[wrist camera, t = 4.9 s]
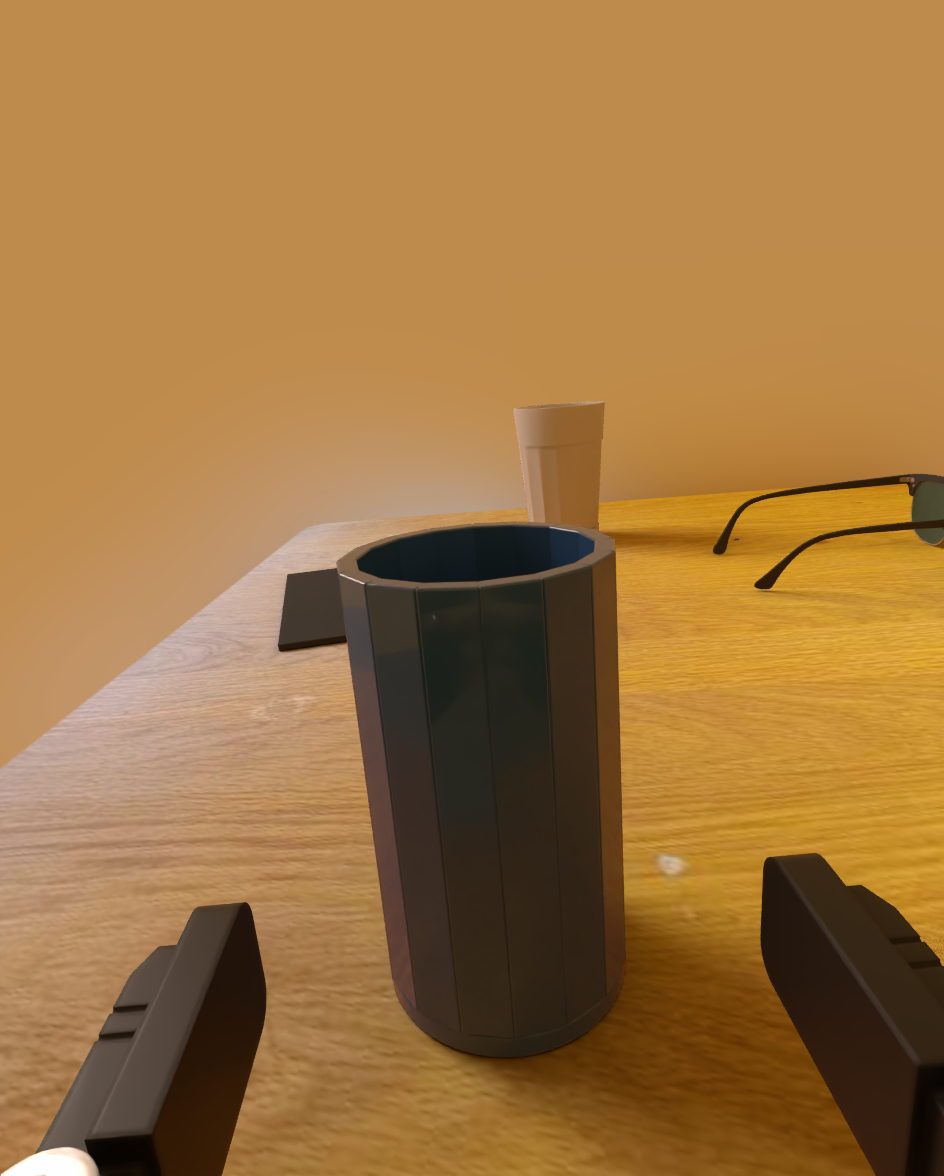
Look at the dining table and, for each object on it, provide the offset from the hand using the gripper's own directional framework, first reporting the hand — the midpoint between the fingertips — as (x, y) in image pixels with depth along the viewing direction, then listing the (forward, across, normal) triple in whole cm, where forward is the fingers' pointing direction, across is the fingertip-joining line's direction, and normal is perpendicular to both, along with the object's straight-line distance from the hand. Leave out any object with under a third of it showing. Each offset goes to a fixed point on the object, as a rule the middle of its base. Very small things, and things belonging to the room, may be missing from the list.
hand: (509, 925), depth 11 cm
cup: (+56, -10, +7) cm, 57 cm away
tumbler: (+6, 0, +6) cm, 9 cm away
